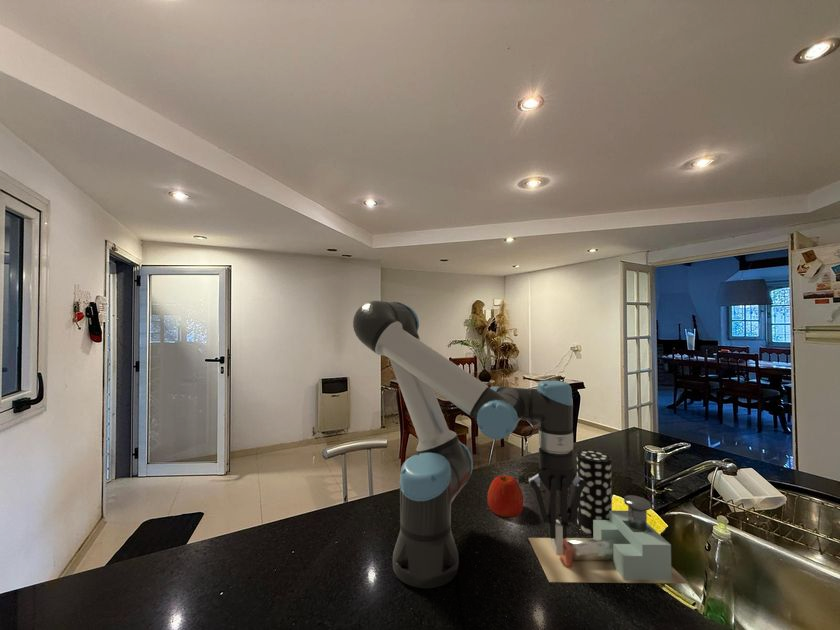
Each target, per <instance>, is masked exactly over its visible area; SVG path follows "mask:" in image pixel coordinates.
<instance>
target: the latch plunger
mask: <svg viewBox="0 0 840 630" xmlns="http://www.w3.org/2000/svg"><path fill="white" fill-rule="evenodd" d="M623 503H624V504H625V505H626V506H627V511H628V524H629V526H630V527H631V528H633V529H635V530H639V531H645V530H647V522H648V521H647V520H648V519H647V518H648V517H647V516H648V515H647V511H649V510H651V507H652V505H651V502H650V501H649V500H648V499H646V498H644V497H641V496H638V495H632V494H631V495H629V494H628V495H625V496H624V497H623Z"/></svg>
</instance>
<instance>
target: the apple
mask: <svg viewBox="0 0 840 630" xmlns="http://www.w3.org/2000/svg"><path fill="white" fill-rule="evenodd" d="M486 498H487V505H488V507H489V510H490V511H491V512H492V513H493V514H495V515H496V516H499V517H501V518H514V517H517V516H518V517H519V516H520V515H521V514H522V511H523V509H524V495H523V491H522V488H521V487H520V484H519V482H518V481H517V480H516V479H515V477H513V476H511V475H502V474H501V475H498V476H496V477H494V479H493V480H492V481H491V483H490V485H489V488H488V491H487V496H486Z"/></svg>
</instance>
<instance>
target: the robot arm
mask: <svg viewBox="0 0 840 630" xmlns="http://www.w3.org/2000/svg"><path fill="white" fill-rule="evenodd" d="M352 320H353V321H352V328H353V332H354V334H355V336H356V338H357V339H358V340H359V341H360V342H361V343H362V344H363V345H364V346H366V347H367V348H368V349H370V350H371V352H373V353H375V354H377V355H378V356H384V357H387V358H388V359H389V361H390V364H391V368H392V369H393V370H392V371H393V373H394V376H395V378H396V380H397V384H398V386H399V390H400V392H401V394H402V397H403V400H404V403H405V406H406V408H407V411H408V414H409V416H410V417H409V418H410V420H411V423H412V426H413V428H414V429H415V433H416V437H417V439H418V444H417V446H416V452H417V453H416V454H414V455H412V456H410V457H409V458H407V459H406V460H405V461H404V462H403V463H402V465H401V469H400V476H399V483H398V484H399V504H400V505H399V511H400V512H399V515H400V516H399V517H400V521H399V522H400V523H399V524H400V525H399V527H400V530H399V532H398V533H399V534H398V536H397V539H396V543H395V546H394V549H393V553H392V570H393V572H394V575H395V576H396V578H398V579H399V581H401V582H403V583H404V584H406V585H407V586H409V587H413V588H417V589H435V588H436V589H437V588H440V587H442V586H445V585H447V584H449V582H451V581H452V580H453V579H454V578H455V577H456V575H457V573H458V571H459V570H458V568H459V563H460V562H459V559H460V558H459V551H458V549H457V545H456V543H455V538H454V536H453V533H452V528H451V525H452V524H451V523H452V522H451V521H452V518H451V517H452V516H451V515H452V512H451V511H452V502H454V500H455V498H456V497H457V495H458V494H459V493H460V492H461V490H462V489H463V488H464V487H465V486H466V485H467V484H468V482H469V480H470V478H471V475H472V474H473V473H472V472H473V468H474V462H473V456H472V454H471V451H470V450H469V448H468V447H467V446H466V445H465V444H463V443H462V442H461V441H460V440H459V437H458V434H457V432H455V431H453V430H450V429H449V426H448V423H447V421H446V419H445V416H444V413H443V412H442V409H441V406H440V405H441V404H440V403H439V401H438V397H437V395H436V393H438V394H439V395H440V396H442V397H444V398H445V399H446V400H448V401H449V402H450V403H452V405H454V406H456V407H458V409H460V410H462V411H463V412H464V413H466V414H467V415H469V417H471V418H473V419H474V420H475V421H476V424H477V427H478V428H479V430H480V432H481V433H482V434H483V436H486V437H487V438H489V439H492V440H503V439H505V438H506V437H507V438H508V436H509V435H511V434H512V433H513V432H514V431H515V430H516V429H517V427H518V424H519V422H520V421H529V422H537V423H538V446H539V448H538V469H537V471H536V474H535V475H534V476H528V477H527V481H528V483H529V484H530V486H531V488H532V492H533V495H534V498H535V502H536V503H535V504H536V506H537V507H536V508H537V510H538V515H539V517H540V518H541V520H542V522H543V523H545V524H546V523H547V533H548V535H549V538H551V539H552V548H553V550H554V552H555V553H556V555H563V539H566V538H568V537H567V536H568V534H567V533H568V531H567V530H568V529H567V528H568V527H569V523H572V524H573V523H575V522H576V520H577V510H578V506H579V501H580V497H581V492H582V490H583V489H584V487H585V485H586V482H585V481H584V480H583V479H582V478H581V477H580V476H577V472H575V468H574V463H575V461H574V460H575V459H574V452H573V449H574V425H573V424H574V416H573V415H574V402H573V391H572V387H571V385H570V384H569V383H568V382H565V381H561V380H553V379H552V380H541V381H538V383H537V386H536V388H525V387H524V388H522V387H511V386H510V387H509V386H505V385H502V386H488V385H487V384H486V383H484V382H482V381H481V380H480V379H478V378H477V377H475V376H474V375H472V374H471V373H469V372H468V371H466V370H464V369H463V368H462V367H460V366H458V365H457V364H456V363H454V362H453V361H451V360H450V359H448V358H447V357H445V356H444V355H442V354H441V353H439V352H437V351H436V350H435V349H433V348H432V347H430V346H428V345H427V344H425V343H424V342H423V341H422V340H421V338H420V336H419V335H420V334H419V333H418V331H419V327H420V321H419V317H418V315H417V313H416V311H415V310H414V309H413V308H412V307H411V306H409V305H407V304H405V303H402V302H399V301H396V302H395V301H391V302H389V301H381V300H371V301H368V302H366V303H364V304H362V305H361V306H360V307H359V308H357V310H356V311H355V314H354V316H353V319H352ZM541 482H542V483H543V484H544V486H545V489H546V507H545V503H544V499H543V495H542V491H541V489H540V487H541ZM571 484H572V485H571ZM570 485H571V489H570V493H569V498H568V492H569V491H568V490H569V487H570ZM556 497H557V498H556ZM556 500H557V501H556ZM556 503H557V504H556ZM556 508H557V509H556ZM556 510H557V511H556ZM557 518H558V519H557Z"/></svg>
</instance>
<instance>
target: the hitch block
mask: <svg viewBox="0 0 840 630" xmlns="http://www.w3.org/2000/svg"><path fill="white" fill-rule="evenodd" d="M592 536H593V537H592V538H593V539H617V540H618V541H619V542H620V544H613V555H614V568H615V569H616V570H617V572H618V573H619V574H620V576H621V577H622V578H623V579H624V580H671V566H672V544H671V543H670V542H669V541H668V540H666V538H664V537H663V536H662V535H661V534H660V533H658V532H657V531H656V530H655V528H653V527H652V526H651V525H650V524H648V523H647V530H645V531H639V530H635V529H633V528H631V527H630V526H629V524H628V510H614V509H612V510H609V520H593V535H592Z"/></svg>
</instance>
